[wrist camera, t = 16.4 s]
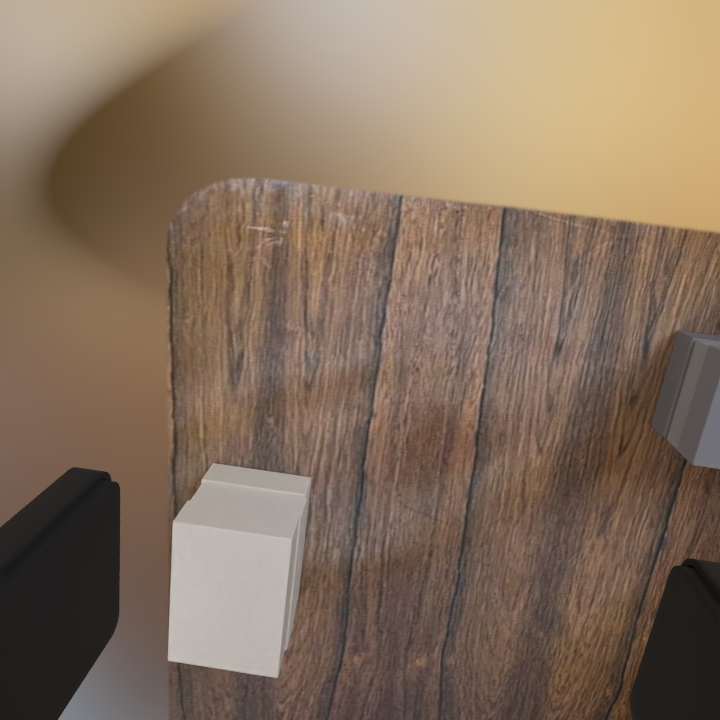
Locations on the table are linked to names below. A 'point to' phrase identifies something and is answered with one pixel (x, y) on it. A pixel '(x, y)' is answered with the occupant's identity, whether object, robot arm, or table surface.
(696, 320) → the table surface
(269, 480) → the white books
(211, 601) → the off-white flat block
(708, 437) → the grey books
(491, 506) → the table surface
